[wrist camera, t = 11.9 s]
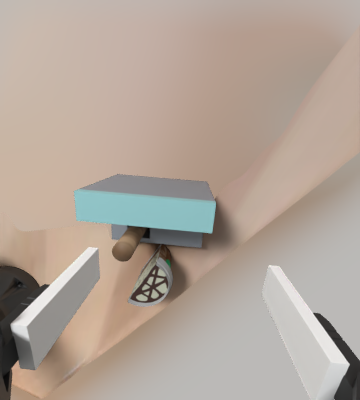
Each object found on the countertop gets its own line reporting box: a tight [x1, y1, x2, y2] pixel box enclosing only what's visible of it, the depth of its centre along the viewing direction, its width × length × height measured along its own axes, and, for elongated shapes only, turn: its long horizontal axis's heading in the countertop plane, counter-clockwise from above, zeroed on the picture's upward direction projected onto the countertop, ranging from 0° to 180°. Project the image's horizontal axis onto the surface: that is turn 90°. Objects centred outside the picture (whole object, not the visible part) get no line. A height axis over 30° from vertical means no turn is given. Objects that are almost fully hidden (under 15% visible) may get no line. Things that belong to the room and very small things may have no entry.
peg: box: [112, 226, 147, 261], centre depth 38 cm, size 3×3×14 cm
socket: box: [74, 174, 216, 248], centre depth 36 cm, size 20×14×16 cm
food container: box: [128, 244, 173, 307], centre depth 43 cm, size 12×6×10 cm, turn 146°
